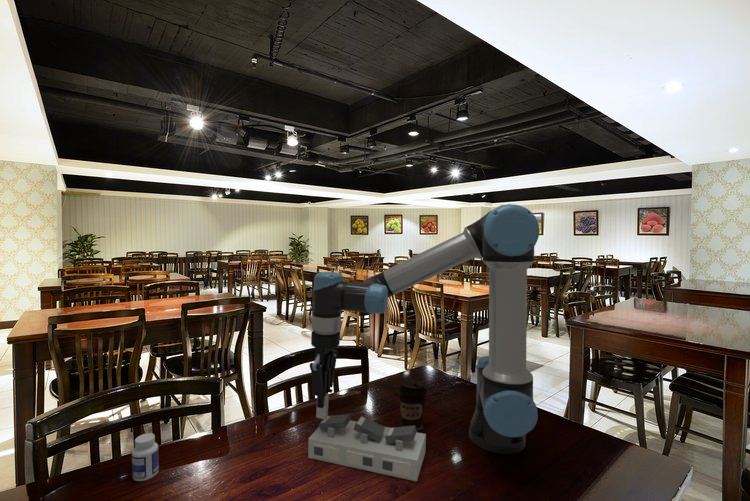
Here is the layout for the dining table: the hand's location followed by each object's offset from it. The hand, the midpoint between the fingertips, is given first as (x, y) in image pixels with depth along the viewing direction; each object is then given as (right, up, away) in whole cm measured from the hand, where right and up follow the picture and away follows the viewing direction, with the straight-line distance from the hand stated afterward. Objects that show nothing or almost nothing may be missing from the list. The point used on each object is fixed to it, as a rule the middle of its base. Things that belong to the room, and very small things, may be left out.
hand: (321, 417), depth 99 cm
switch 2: (+13, -2, -4) cm, 13 cm away
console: (+12, -8, -4) cm, 15 cm away
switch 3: (+21, -3, -6) cm, 22 cm away
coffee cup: (+25, -8, +11) cm, 29 cm away
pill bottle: (-40, -8, -12) cm, 42 cm away
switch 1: (+4, -2, -1) cm, 5 cm away
